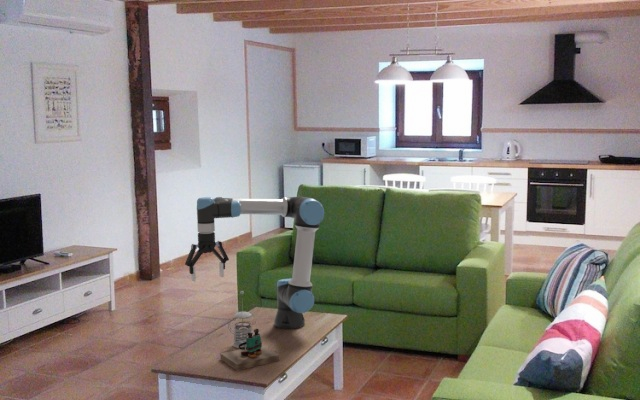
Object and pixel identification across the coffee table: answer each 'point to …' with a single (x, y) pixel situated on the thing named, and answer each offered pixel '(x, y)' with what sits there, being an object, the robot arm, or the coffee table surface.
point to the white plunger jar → (239, 325)
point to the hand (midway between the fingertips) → (207, 278)
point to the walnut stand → (249, 358)
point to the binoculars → (252, 344)
